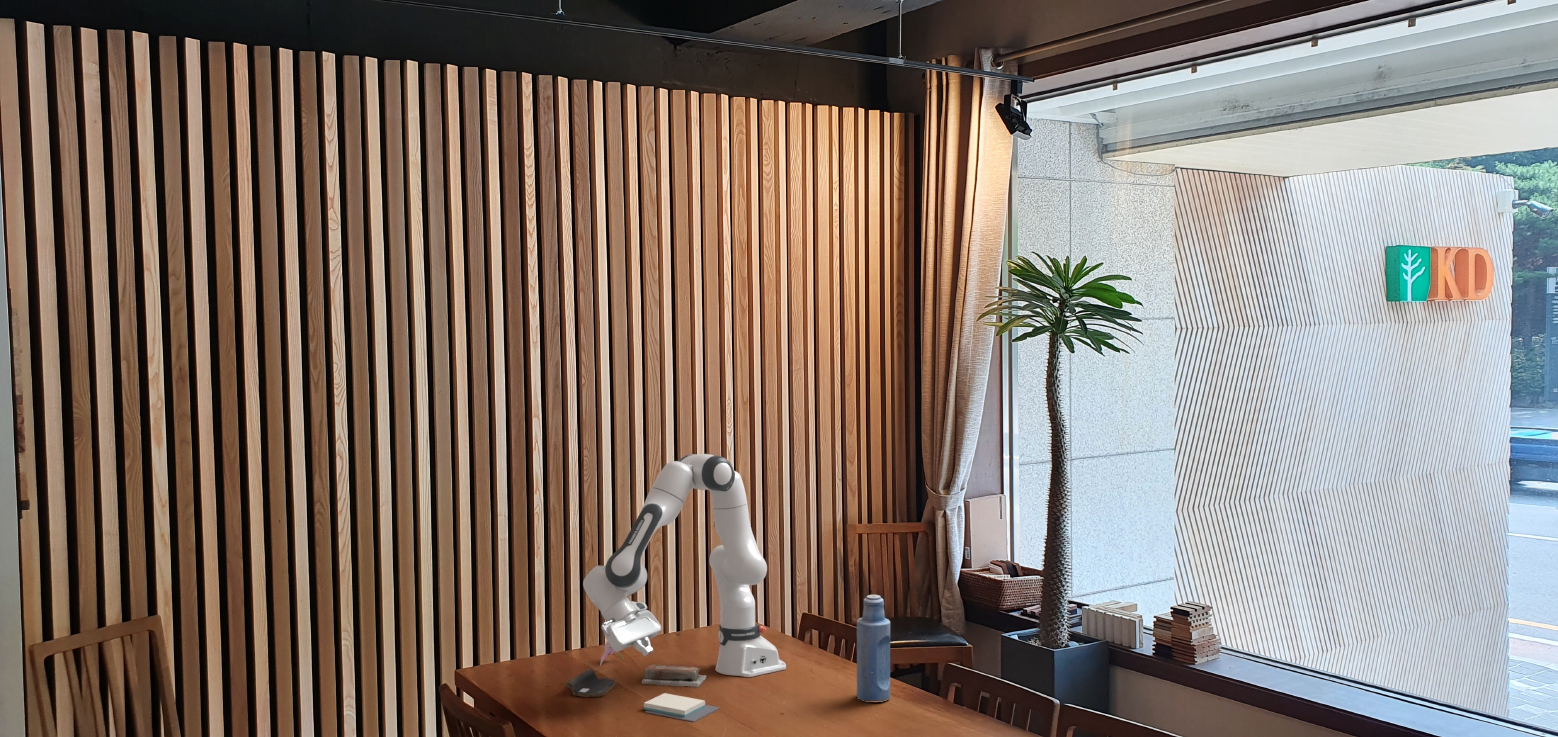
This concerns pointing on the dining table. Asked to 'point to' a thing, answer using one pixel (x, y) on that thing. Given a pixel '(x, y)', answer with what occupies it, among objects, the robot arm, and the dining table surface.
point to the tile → (674, 705)
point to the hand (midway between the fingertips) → (649, 653)
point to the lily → (608, 652)
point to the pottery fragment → (590, 685)
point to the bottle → (873, 651)
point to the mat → (691, 717)
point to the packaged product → (673, 675)
